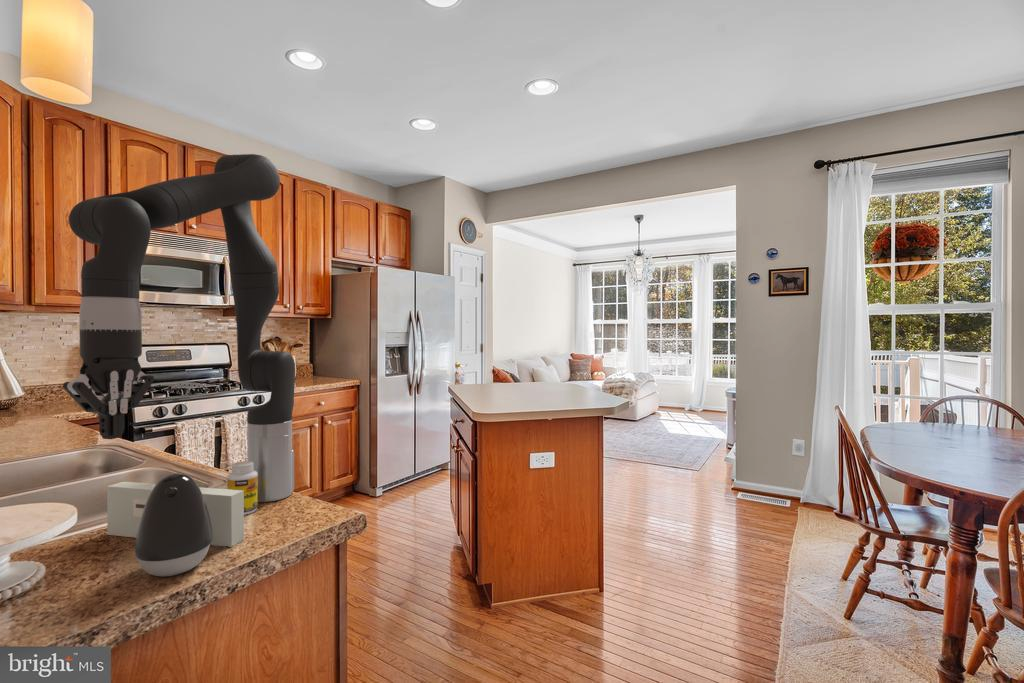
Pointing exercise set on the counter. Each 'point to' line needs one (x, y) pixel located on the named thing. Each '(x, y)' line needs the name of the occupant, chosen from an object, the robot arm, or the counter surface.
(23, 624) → the counter surface
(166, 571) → the dark grey egg device
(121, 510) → the rectangular box with label
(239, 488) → the supplement bottle
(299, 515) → the counter surface
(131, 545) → the counter surface
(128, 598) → the counter surface
